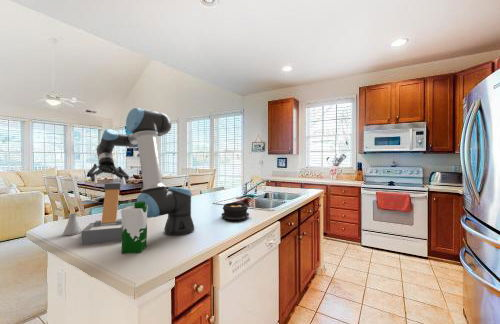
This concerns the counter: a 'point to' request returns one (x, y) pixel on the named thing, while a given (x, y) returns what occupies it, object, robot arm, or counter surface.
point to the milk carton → (134, 228)
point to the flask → (72, 225)
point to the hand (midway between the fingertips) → (110, 185)
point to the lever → (110, 203)
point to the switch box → (102, 232)
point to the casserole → (235, 211)
